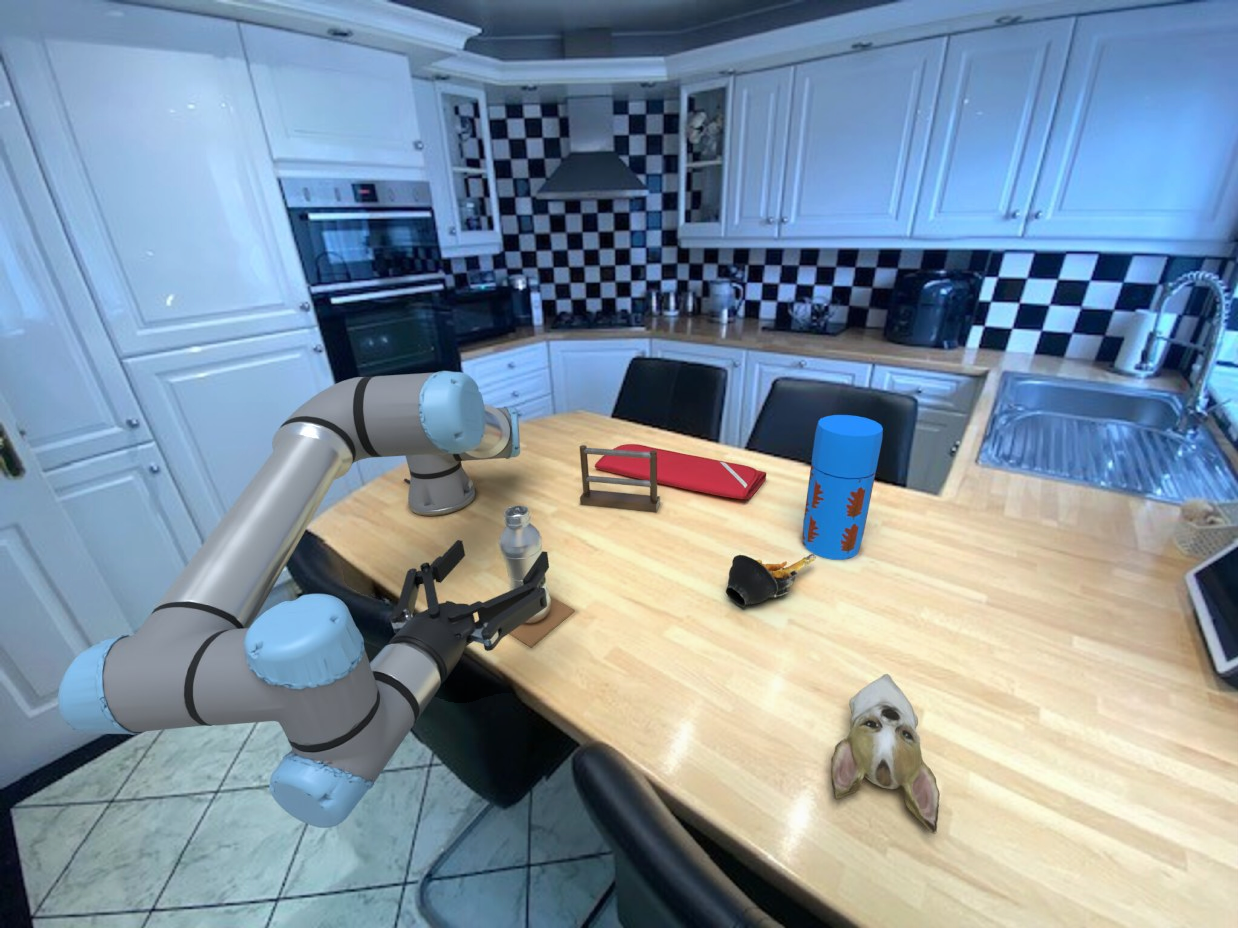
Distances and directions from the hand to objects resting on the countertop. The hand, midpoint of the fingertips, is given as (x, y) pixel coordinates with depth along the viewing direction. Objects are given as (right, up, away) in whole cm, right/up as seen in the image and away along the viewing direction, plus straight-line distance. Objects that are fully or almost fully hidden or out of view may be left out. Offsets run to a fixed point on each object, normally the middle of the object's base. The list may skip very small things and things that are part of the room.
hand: (502, 553), depth 74 cm
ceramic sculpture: (+47, -22, -15) cm, 54 cm away
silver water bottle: (+3, -12, +10) cm, 16 cm away
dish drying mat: (+32, +10, +55) cm, 65 cm away
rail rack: (+17, +4, +43) cm, 46 cm away
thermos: (+59, -3, +26) cm, 64 cm away
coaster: (+3, -12, +10) cm, 16 cm away
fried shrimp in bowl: (+43, -9, +14) cm, 47 cm away
